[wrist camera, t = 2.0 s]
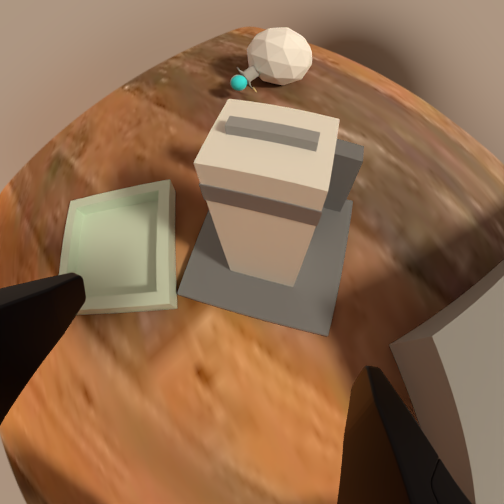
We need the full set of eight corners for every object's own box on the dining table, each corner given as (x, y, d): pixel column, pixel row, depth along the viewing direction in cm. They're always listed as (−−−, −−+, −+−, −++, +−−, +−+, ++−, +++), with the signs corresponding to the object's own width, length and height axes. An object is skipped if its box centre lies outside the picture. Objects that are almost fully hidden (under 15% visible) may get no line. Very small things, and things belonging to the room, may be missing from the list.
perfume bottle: (335, 63, 28) (274, 110, 27) (294, 70, 35) (236, 115, 33) (305, 11, 23) (232, 50, 22) (265, 28, 30) (200, 68, 28)
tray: (177, 308, 22) (169, 303, 20) (69, 315, 22) (56, 310, 20) (175, 191, 26) (169, 179, 24) (80, 210, 26) (70, 201, 24)
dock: (326, 336, 20) (357, 324, 14) (178, 295, 22) (142, 264, 15) (351, 203, 25) (377, 150, 18) (225, 174, 26) (214, 115, 19)
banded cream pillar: (293, 287, 22) (332, 184, 9) (229, 270, 22) (188, 155, 10) (305, 240, 23) (342, 110, 10) (244, 225, 24) (227, 89, 11)
